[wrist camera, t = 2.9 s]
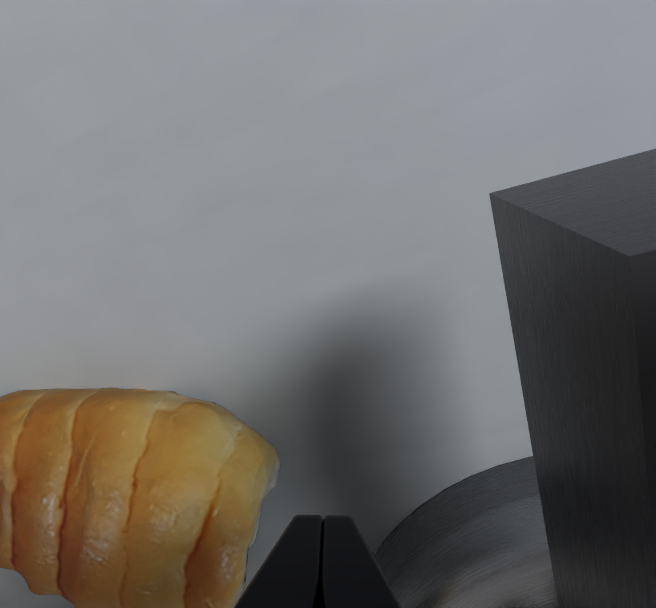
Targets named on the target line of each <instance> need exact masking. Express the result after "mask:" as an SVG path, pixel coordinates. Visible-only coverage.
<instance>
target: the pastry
mask: <svg viewBox="0 0 656 608" xmlns="http://www.w3.org/2000/svg"><path fill="white" fill-rule="evenodd" d="M280 468H281V466H280V461H279V457H278V454H277V451H276V450H275V448H274V447H273V446H272V445H271V444H270V443H269V442H267V441H266V440H265V439H264V438H263V437H262V436H260V435H259V434H258V433H257V432H256V431H254V430H253V429H251V428H250V427H248V426H247V425H246V424H244V423H243V422H242V421H240V420H239V419H238V418H237V417H235V416H234V415H233V414H232V413H230V412H229V411H228V410H226V409H224V408H223V407H221V406H219V405H217V404H216V403H214V402H206V401H202V400H197V399H192V398H188V397H185V396H182V395H179V394H177V393H176V392H174V391H148V390H144V389H118V388H100V389H42V390H23V391H17V392H13V393H10V394H7V395H4V396H2V397H0V568H5V569H12V570H15V571H17V572H19V573H20V574H21V575H22V576H23V577H24V579H25V580H26V582H27V585H28V587H29V589H30V591H31V592H33V593H35V594H38V595H48V594H58V595H61V596H63V597H64V598H65V599H67V600H68V601H69V602H71V603H72V604H74V606H75V608H234V606H235V605H236V603H237V602H238V600H239V599H240V596H241V594H242V591H243V589H244V587H245V584H246V567H247V557H248V549H249V548H250V547H251V546H252V544H253V543H254V541H255V539H256V535H257V532H258V528H259V518H260V516H261V503H262V500H263V498H264V497H265V496H267V495H268V494H269V493H270V491H271V490H272V489H273V488H274V487H275V486H276V483H277V477H278V472H279V470H280Z"/></svg>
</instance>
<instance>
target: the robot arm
mask: <svg viewBox="0 0 656 608" xmlns="http://www.w3.org/2000/svg"><path fill="white" fill-rule="evenodd" d="M234 608H402V607H401V605H400V603H399V602H398V600H397V598H396V596H395V594H394V593H393V591H392V589H391V587H390V585H389V584H388V582H387V580H386V578H385V576H384V574H383V573H382V571H381V569H380V567H379V565H378V564H377V562H376V560H375V558H374V556H373V555H372V553H371V551H370V549H369V547H368V546H367V544H366V542H365V540H364V538H363V537H362V535H361V533H360V531H359V529H358V527H357V526H356V524H355V522H354V520H353V519H352V518H351V517H350V516H333V515H328V516H326V517H325V518H324V520H323V519H322V517H321V516H319V515H297V516H295V517H294V518H293V519H292V521H291V522H290V524H289V525H288V527H287V528H286V530H285V531H284V533H283V534H282V536H281V537H280V539H279V540H278V542H277V543H276V545H275V546H274V548H273V549H272V551H271V552H270V554H269V555H268V557H267V558H266V560H265V561H264V563H263V564H262V566H261V567H260V569H259V570H258V572H257V573H256V575H255V576H254V578H253V579H252V581H251V582H250V584H249V585H248V587H247V588H246V590H245V591H244V593H243V594H242V596H241V597H240V599H239V600H238V602H237V603H236V605H235V606H234Z"/></svg>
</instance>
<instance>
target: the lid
mask: <svg viewBox="0 0 656 608" xmlns="http://www.w3.org/2000/svg"><path fill="white" fill-rule="evenodd" d="M489 194H490V200H491V206H492V212H493V218H494V224H495V230H496V236H497V242H498V248H499V254H500V260H501V266H502V272H503V278H504V284H505V290H506V296H507V302H508V308H509V314H510V320H511V326H512V332H513V338H514V344H515V350H516V356H517V361H518V367H519V373H520V379H521V385H522V391H523V397H524V403H525V409H526V415H527V421H528V427H529V433H530V439H531V445H532V451H533V457H534V463H535V469H536V475H537V481H538V487H539V493H540V499H541V505H542V511H543V517H544V523H545V529H546V535H547V541H548V547H549V553H550V559H551V565H552V571H553V577H554V583H555V589H556V595H557V601H558V607H559V608H656V149H653V150H649V151H645V152H642V153H638V154H634V155H630V156H627V157H623V158H619V159H616V160H612V161H608V162H604V163H601V164H597V165H593V166H590V167H586V168H582V169H578V170H575V171H571V172H567V173H563V174H560V175H556V176H552V177H549V178H545V179H541V180H537V181H534V182H530V183H526V184H523V185H519V186H515V187H511V188H508V189H504V190H500V191H496V192H493V193H489Z"/></svg>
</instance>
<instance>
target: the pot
mask: <svg viewBox="0 0 656 608" xmlns="http://www.w3.org/2000/svg"><path fill="white" fill-rule="evenodd" d="M374 558H375V560H376V562H377V564H378V565H379V567H380V569H381V571H382V573H383V574H384V576H385V578H386V580H387V582H388V584H389V585H390V587H391V589H392V591H393V593H394V594H395V596H396V598H397V600H398V602H399V603H400V605H401V607H402V608H559V607H558V601H557V595H556V589H555V583H554V577H553V571H552V565H551V559H550V553H549V547H548V541H547V535H546V529H545V523H544V517H543V511H542V505H541V499H540V493H539V487H538V481H537V475H536V469H535V463H534V457H528V458H525V459H521V460H517V461H513V462H510V463H506V464H502V465H499V466H497V467H494V468H491V469H489V470H486V471H484V472H481V473H478V474H476V475H473V476H471V477H469V478H467V479H465V480H463V481H461V482H459V483H457V484H455V485H453V486H451V487H450V488H448V489H446V490H444V491H443V492H441V493H440V494H438V495H437V496H435V497H434V498H432V499H431V500H429V501H428V502H426V503H425V504H423V505H422V506H420V507H419V508H418V509H417V510H416V511H415V512H413V513H412V514H411V515H410V516H409V517H408V518H406V519H405V520H404V521H403V522H402V523H401V524H400V525H399V526H398V527H397V528H396V529H395V530H394V531H393V533H392V534H391V535H390V536H389V537H388V538H387V539H386V540H385V541H384V543H383V544H382V546H381V547H380V549H379V550H378V552H377V553H376V555H375V556H374Z"/></svg>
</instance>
